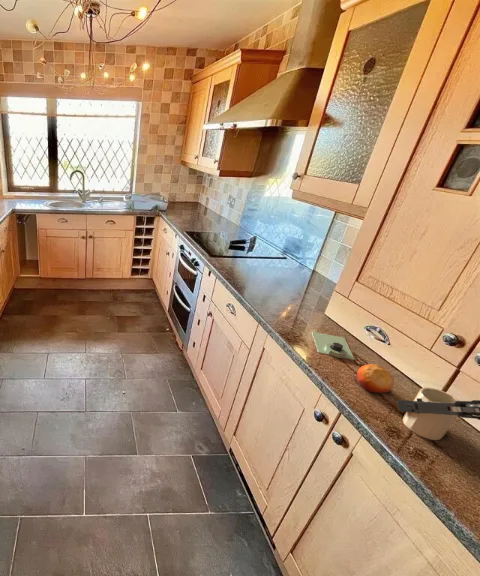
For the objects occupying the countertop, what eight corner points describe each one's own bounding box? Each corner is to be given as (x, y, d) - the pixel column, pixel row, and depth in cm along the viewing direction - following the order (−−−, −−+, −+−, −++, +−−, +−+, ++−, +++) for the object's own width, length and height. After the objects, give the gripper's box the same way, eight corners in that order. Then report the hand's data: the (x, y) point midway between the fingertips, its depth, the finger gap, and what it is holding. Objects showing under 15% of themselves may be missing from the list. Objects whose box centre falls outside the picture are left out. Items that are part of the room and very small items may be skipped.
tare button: (340, 348, 102) (342, 343, 101) (342, 352, 100) (344, 348, 99) (330, 345, 103) (331, 341, 102) (332, 350, 101) (333, 346, 100)
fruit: (370, 369, 94) (390, 361, 87) (382, 396, 90) (405, 389, 83) (343, 369, 94) (361, 361, 88) (354, 396, 90) (374, 389, 83)
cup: (433, 421, 79) (453, 392, 74) (448, 444, 73) (470, 414, 69) (397, 412, 82) (414, 383, 77) (409, 433, 76) (428, 404, 71)
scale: (343, 340, 110) (346, 334, 108) (354, 364, 98) (357, 357, 97) (310, 334, 113) (313, 327, 112) (317, 356, 102) (320, 349, 101)
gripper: (479, 432, 57) (378, 420, 78) (600, 437, 55) (463, 424, 77) (465, 389, 59) (371, 389, 81) (581, 393, 58) (453, 392, 79)
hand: (416, 406), depth 79 cm, fingers closed on cup, 7 cm apart
